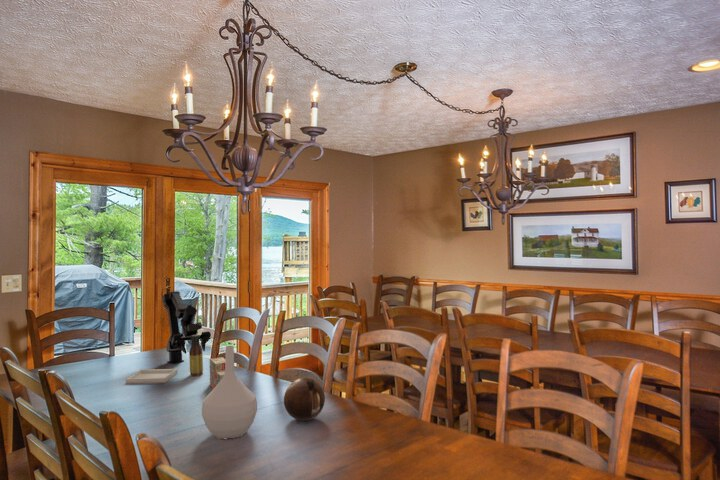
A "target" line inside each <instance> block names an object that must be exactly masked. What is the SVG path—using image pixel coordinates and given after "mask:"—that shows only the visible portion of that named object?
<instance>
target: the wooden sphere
mask: <svg viewBox="0 0 720 480" xmlns="http://www.w3.org/2000/svg"><path fill="white" fill-rule="evenodd" d="M325 402H326V396H325V392H324V389H323V387H322V385H321V384H319V382H317V381H316V380H314V379H312V378H308V377H301V378H297V379H295V380H294V381H292V382H291V383H290V384H289V385H288V386H287V388H285V392H284V395H283V405H284V409H285V411H286V412H287V413H288V415H289V416H290V417H292V418H293V420H294V419H295V420H298V421H301V422H305V421H307V422H308V421H311V420H312V419H315V418H316V417H318V416H319V415H320V413H321V412H322V410H323V409H324V407H325Z"/></svg>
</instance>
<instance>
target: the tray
mask: <svg viewBox="0 0 720 480" xmlns="http://www.w3.org/2000/svg"><path fill="white" fill-rule="evenodd" d="M177 374H178V368H164V369H163V368H157V369H156V368H154V369H140V370H138V371H137V372H135V373H133V374H131V376H128V377H127V378H126V379H125V385H137V384H140V385H141V384H143V385H144V384H146V385H147V384H148V385H149V384H166V383H167V382H169V381H170V380H171V379H172V378H174V377H175V376H176V375H177Z"/></svg>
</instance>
